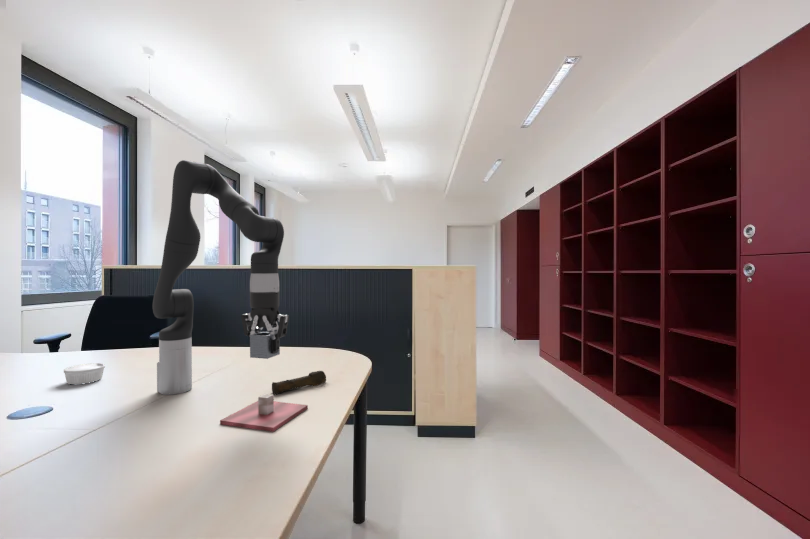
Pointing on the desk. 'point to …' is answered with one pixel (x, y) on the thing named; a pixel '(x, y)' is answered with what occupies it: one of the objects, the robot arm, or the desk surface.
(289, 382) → the hand tool
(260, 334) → the square socket
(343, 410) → the desk surface
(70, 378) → the ramekin
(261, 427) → the post base
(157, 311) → the robot arm
